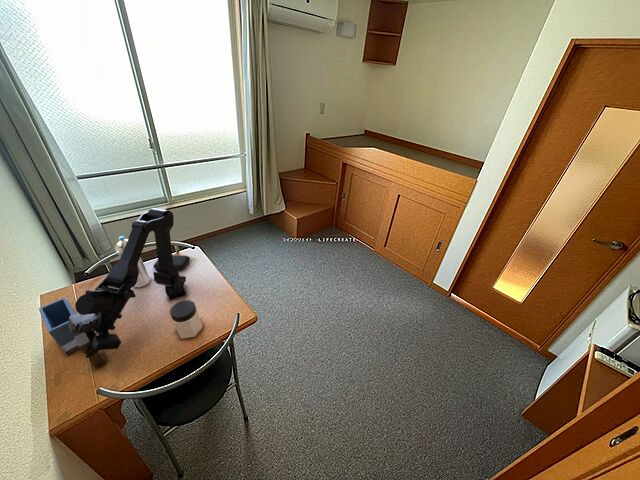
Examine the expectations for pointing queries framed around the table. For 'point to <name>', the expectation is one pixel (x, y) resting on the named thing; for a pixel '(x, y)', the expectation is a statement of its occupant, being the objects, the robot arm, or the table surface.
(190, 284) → the table surface
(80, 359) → the table surface
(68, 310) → the storage box
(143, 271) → the water bottle
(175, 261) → the carrying case
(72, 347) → the hook tag
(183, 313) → the jar
